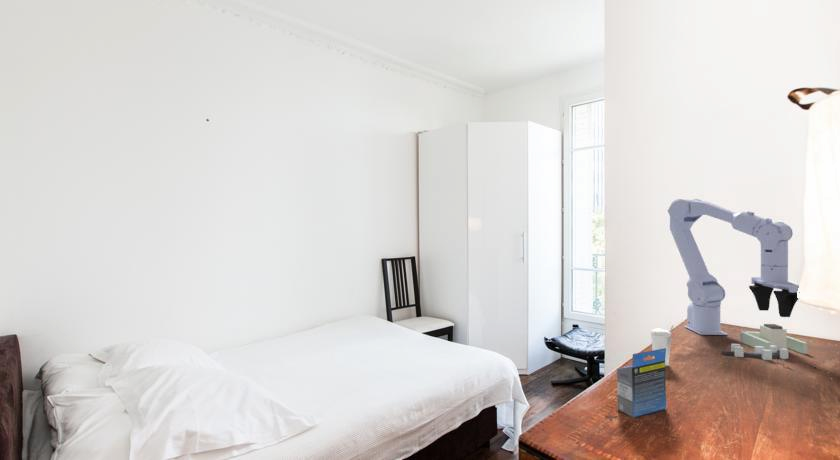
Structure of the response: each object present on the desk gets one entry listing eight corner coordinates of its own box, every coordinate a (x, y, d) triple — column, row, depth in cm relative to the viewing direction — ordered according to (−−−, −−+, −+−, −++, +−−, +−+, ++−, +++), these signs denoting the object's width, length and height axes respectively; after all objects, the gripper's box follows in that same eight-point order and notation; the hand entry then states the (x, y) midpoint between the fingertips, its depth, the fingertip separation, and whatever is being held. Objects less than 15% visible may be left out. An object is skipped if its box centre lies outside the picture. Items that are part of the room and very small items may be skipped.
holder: (739, 341, 117) (739, 331, 117) (776, 341, 116) (776, 331, 116) (767, 353, 107) (767, 342, 107) (807, 354, 106) (807, 343, 106)
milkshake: (678, 367, 98) (678, 327, 98) (657, 367, 98) (657, 328, 98) (667, 360, 103) (667, 323, 102) (647, 361, 103) (646, 323, 103)
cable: (719, 352, 108) (719, 349, 108) (786, 353, 106) (786, 350, 106) (729, 357, 104) (729, 354, 104) (798, 358, 102) (798, 355, 102)
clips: (727, 352, 108) (727, 343, 108) (775, 353, 107) (775, 344, 107) (741, 359, 103) (741, 350, 102) (793, 360, 101) (793, 350, 101)
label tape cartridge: (649, 401, 81) (649, 342, 80) (667, 409, 77) (666, 347, 77) (616, 409, 78) (616, 347, 77) (633, 418, 74) (633, 354, 74)
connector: (775, 346, 112) (775, 323, 112) (786, 350, 108) (786, 327, 108) (759, 346, 113) (759, 323, 113) (770, 350, 109) (770, 327, 109)
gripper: (740, 262, 118) (740, 307, 118) (779, 268, 103) (779, 319, 104) (766, 262, 117) (765, 307, 117) (808, 268, 103) (808, 320, 103)
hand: (773, 313), depth 111 cm, fingers open, 7 cm apart
